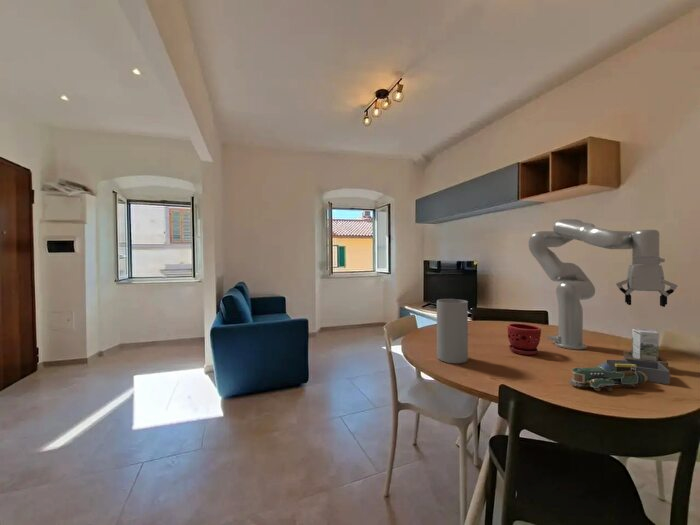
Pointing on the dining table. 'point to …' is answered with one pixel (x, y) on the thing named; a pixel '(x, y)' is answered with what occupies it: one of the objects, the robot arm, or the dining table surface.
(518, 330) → the plant pot
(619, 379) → the green toy hover car
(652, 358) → the syrup box
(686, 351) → the dining table surface
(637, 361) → the tray
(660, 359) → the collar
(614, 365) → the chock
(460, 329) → the cylinder vase
